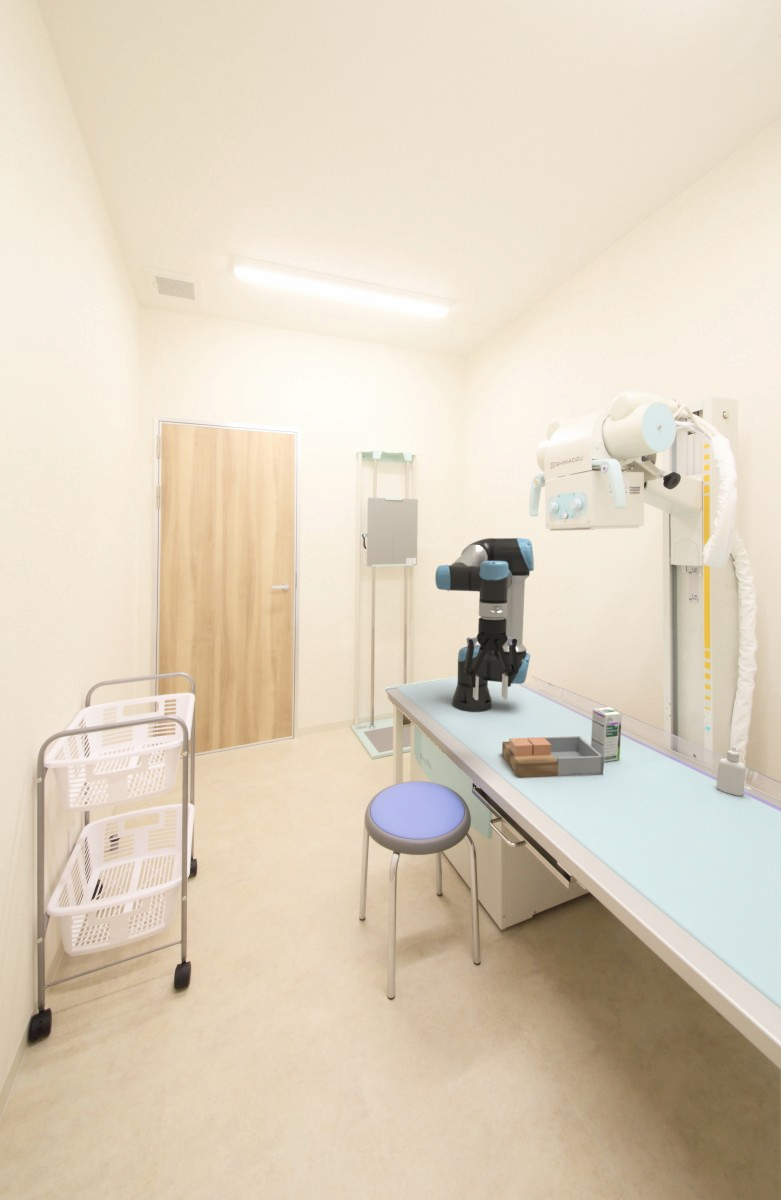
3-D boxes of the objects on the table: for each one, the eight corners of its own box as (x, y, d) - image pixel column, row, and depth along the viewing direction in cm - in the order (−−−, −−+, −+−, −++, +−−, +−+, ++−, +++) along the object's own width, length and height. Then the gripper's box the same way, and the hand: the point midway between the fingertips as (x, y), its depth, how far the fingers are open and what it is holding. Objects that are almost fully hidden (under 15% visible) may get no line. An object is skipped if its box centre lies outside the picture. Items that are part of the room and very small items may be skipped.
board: (502, 754, 142) (502, 741, 142) (537, 753, 143) (538, 740, 142) (518, 777, 128) (519, 763, 128) (557, 776, 129) (558, 762, 129)
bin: (537, 753, 143) (538, 737, 142) (578, 751, 144) (579, 736, 143) (557, 776, 129) (558, 758, 129) (603, 774, 130) (604, 757, 130)
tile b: (526, 747, 138) (527, 737, 137) (543, 747, 138) (543, 737, 138) (533, 755, 133) (533, 745, 132) (550, 754, 133) (551, 744, 133)
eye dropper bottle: (725, 784, 125) (729, 741, 124) (746, 795, 120) (751, 750, 118) (712, 786, 124) (717, 743, 122) (733, 798, 119) (738, 752, 117)
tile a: (508, 748, 137) (509, 738, 137) (525, 747, 138) (525, 737, 137) (514, 756, 132) (515, 745, 132) (532, 755, 133) (532, 745, 132)
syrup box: (603, 762, 137) (606, 714, 135) (589, 753, 143) (592, 707, 141) (619, 760, 139) (623, 712, 137) (605, 751, 144) (608, 706, 142)
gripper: (459, 620, 125) (457, 703, 127) (534, 619, 126) (530, 701, 129) (452, 615, 132) (451, 694, 135) (523, 615, 134) (520, 692, 137)
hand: (489, 697), depth 132 cm, fingers open, 8 cm apart
